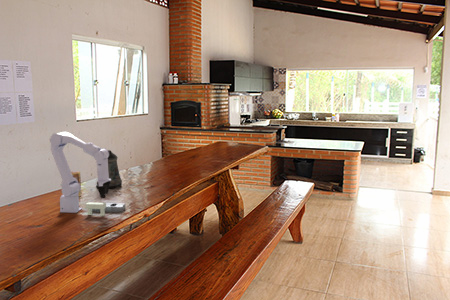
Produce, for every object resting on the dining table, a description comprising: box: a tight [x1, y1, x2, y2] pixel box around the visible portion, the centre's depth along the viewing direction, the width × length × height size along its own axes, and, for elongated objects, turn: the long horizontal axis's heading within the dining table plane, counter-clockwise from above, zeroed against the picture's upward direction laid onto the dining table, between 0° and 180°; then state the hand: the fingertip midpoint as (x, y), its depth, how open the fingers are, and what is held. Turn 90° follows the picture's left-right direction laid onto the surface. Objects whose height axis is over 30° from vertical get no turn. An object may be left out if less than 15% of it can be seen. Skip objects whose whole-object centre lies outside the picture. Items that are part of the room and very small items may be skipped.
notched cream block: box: [85, 202, 107, 217], centre depth 216 cm, size 10×3×6 cm, turn 86°
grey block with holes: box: [92, 202, 126, 213], centre depth 225 cm, size 18×7×3 cm, turn 86°
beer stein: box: [96, 149, 123, 190], centre depth 271 cm, size 16×19×25 cm
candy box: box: [69, 171, 82, 198], centre depth 250 cm, size 9×4×15 cm, turn 96°
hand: (104, 195), depth 218 cm, fingers open, 7 cm apart
